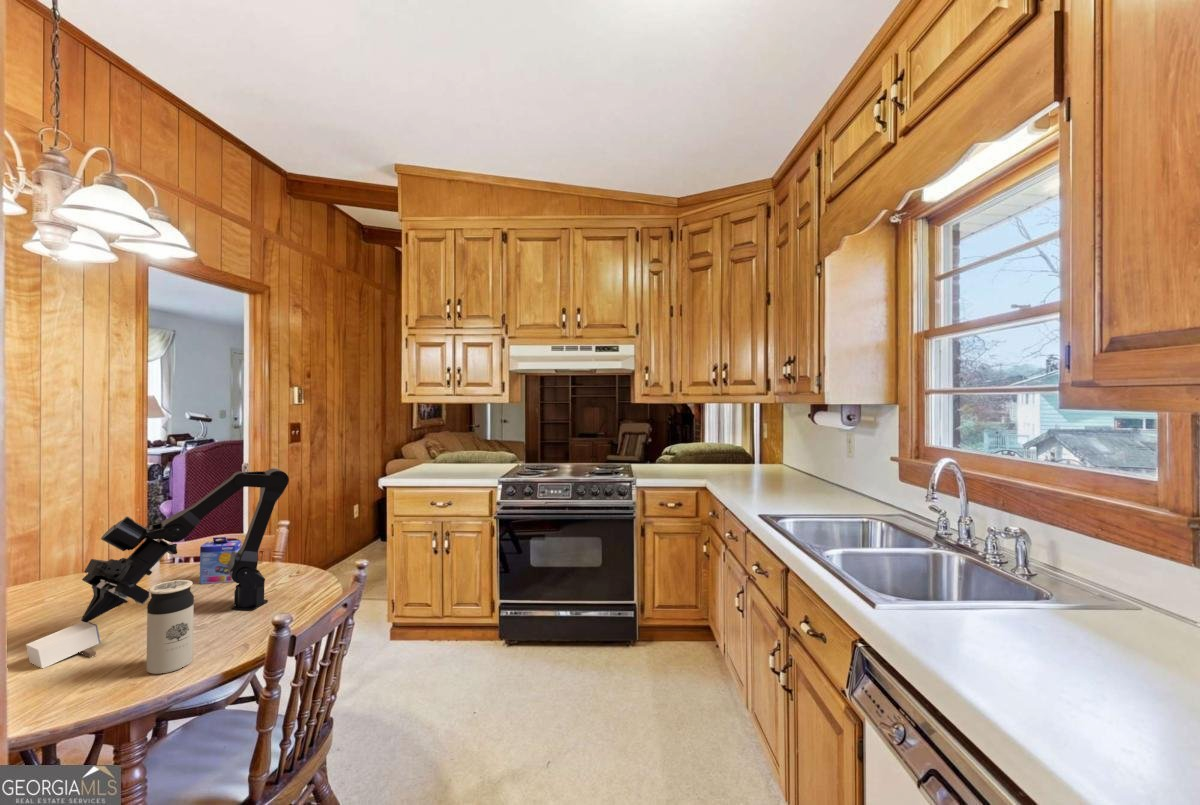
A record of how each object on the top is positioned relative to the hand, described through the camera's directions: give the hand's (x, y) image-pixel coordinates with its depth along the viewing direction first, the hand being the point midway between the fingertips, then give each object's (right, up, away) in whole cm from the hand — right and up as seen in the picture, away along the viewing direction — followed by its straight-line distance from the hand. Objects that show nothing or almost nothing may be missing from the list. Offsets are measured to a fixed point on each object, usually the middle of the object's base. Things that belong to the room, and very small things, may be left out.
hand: (83, 621), depth 121 cm
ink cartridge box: (-1, -6, +45) cm, 46 cm away
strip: (0, -7, -1) cm, 7 cm away
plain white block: (+1, -3, +2) cm, 3 cm away
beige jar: (+25, -8, -6) cm, 27 cm away
